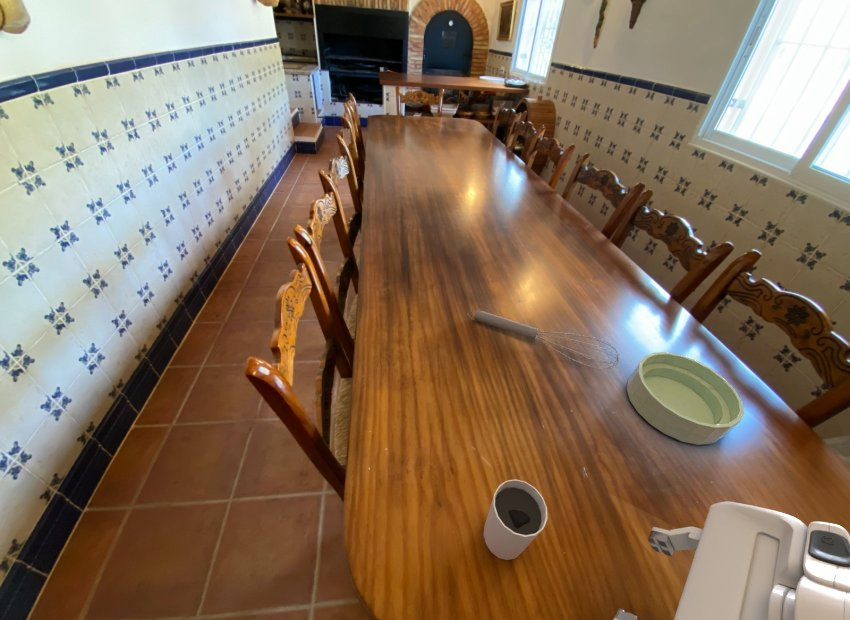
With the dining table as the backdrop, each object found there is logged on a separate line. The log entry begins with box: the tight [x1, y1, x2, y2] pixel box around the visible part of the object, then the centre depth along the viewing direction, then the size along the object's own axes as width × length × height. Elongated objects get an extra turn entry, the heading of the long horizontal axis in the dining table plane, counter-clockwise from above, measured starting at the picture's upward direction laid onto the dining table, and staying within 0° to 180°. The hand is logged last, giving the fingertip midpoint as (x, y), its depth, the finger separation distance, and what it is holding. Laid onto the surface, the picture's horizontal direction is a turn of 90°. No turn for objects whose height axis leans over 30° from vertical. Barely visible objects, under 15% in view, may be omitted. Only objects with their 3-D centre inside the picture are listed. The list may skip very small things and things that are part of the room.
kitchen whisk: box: [466, 308, 620, 370], centre depth 79 cm, size 6×34×6 cm, turn 62°
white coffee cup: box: [483, 478, 548, 561], centre depth 47 cm, size 7×7×10 cm
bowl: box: [626, 351, 745, 446], centre depth 68 cm, size 17×17×6 cm
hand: (635, 576), depth 35 cm, fingers open, 8 cm apart
